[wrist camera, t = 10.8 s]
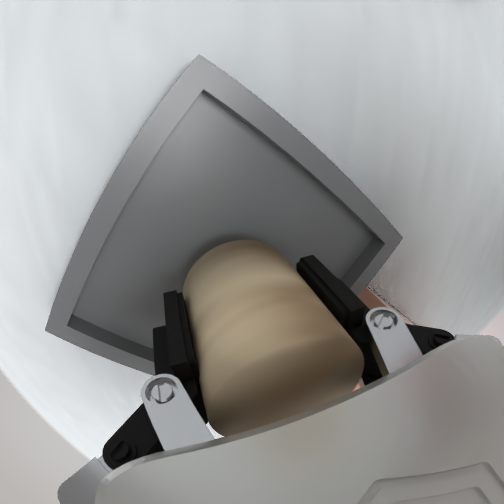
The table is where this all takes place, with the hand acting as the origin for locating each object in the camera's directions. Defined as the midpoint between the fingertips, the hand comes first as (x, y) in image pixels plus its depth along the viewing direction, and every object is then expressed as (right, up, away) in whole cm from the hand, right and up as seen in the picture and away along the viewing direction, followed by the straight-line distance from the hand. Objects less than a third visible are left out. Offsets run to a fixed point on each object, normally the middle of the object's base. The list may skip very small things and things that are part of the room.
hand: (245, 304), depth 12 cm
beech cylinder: (0, 0, +1) cm, 1 cm away
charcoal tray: (-1, +1, +3) cm, 3 cm away
